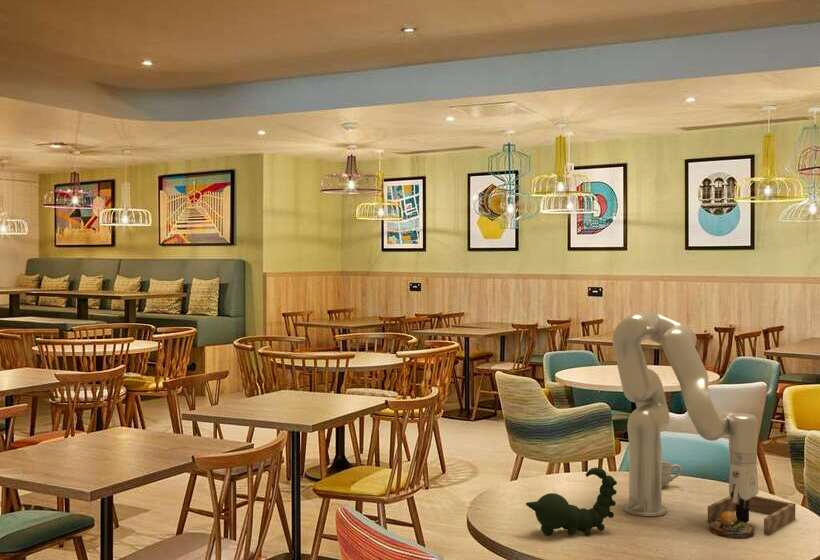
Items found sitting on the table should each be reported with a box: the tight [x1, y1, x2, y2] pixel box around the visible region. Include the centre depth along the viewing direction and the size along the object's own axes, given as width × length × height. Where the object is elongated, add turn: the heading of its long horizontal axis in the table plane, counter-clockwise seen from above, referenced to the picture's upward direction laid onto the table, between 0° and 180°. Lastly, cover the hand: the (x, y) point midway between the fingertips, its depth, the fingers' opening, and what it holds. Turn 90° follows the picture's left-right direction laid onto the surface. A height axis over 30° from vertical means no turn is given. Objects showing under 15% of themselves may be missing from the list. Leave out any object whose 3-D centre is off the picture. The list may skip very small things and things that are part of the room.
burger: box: [708, 507, 755, 539], centre depth 238 cm, size 12×12×8 cm
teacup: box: [662, 460, 683, 488], centre depth 285 cm, size 14×11×8 cm
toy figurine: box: [525, 467, 618, 537], centre depth 237 cm, size 10×19×26 cm
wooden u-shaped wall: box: [707, 495, 796, 536], centre depth 248 cm, size 20×17×4 cm
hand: (742, 521), depth 243 cm, fingers closed
